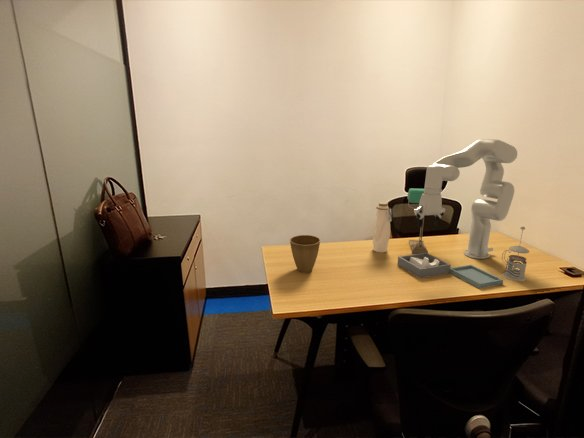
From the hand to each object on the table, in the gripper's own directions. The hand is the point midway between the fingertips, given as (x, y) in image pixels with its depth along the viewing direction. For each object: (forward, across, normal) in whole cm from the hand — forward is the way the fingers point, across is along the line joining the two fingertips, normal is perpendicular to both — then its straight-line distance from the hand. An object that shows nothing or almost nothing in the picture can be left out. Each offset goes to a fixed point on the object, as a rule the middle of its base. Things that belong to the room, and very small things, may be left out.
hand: (427, 226), depth 169 cm
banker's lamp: (+22, -17, -28) cm, 39 cm away
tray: (+22, -17, +17) cm, 32 cm away
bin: (+22, 0, 0) cm, 22 cm away
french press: (+22, -36, +20) cm, 46 cm away
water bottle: (+23, +6, -29) cm, 38 cm away
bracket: (+23, 0, 0) cm, 23 cm away
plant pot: (+24, +58, -15) cm, 64 cm away
